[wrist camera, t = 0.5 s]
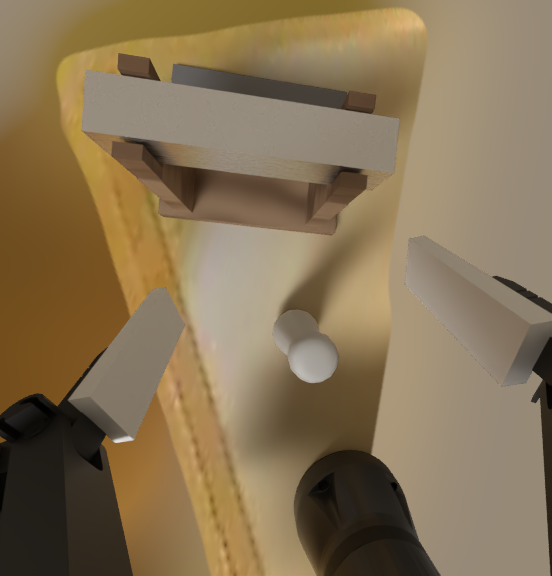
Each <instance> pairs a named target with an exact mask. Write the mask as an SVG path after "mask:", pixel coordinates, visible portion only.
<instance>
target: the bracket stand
mask: <svg viewBox="0 0 552 576" xmlns="http://www.w3.org/2000/svg"><path fill="white" fill-rule="evenodd" d="M118 70H119V71H120V73H121V75H123V76H129V77H136V78H142V79H149V80H155V81H160V79H159V77H158V75H157V73H156V71H155V69H154V66H153V64H152V62H151V60H150V58H145V57H139V56H133V55H126V54H120V53H119V55H118ZM375 100H376V95H372V94H366V93H360V92H353V91H349V93H348V95H347V97H346V99H345V101H344V103H343V105H342V107H341V110H348V111H354V112H360V113H367V114H371V113H372V112H373V111H374V109H375ZM111 156H112V157H113V158H114V159H116V160H117V161H118V162H119V163H120V164H121V165H123V166H124V167H125V168H126V169H127V170H129V171H130V172H131V173H132V174H133V175H134V176H136V177H137V179H138V180H139V181H140V182H141V183H142V184H144V185H145V186H146V187H147V188H148V189H150V190H151V191H152V192H153V193H154V194H156V195H157V196H158V197H159V198H160V199H159V211H158V214H160V215H161V216H163V217H171V218H180V219H189V220H198V221H207V222H216V223H225V224H234V225H243V226H252V227H261V228H270V229H279V230H288V231H297V232H306V233H315V234H324V235H333V234H334V233H335V227H336V217H337V213H339V212H340V211H341V210H342V209H344V208H345V207H346V206H347V205H348V203H350V202H351V201H352V200H353V199H354V198H356V197H357V196H358V195H359V194H361V193H362V192H363V191H364V190H365V189H366V187H367V177H368V175H363V174H356V173H348V172H341V173H340V174H339V175H338V177H337V178H336V179H335V180H334V182H333V183H332V184H331V185H326V184H318V183H310V182H302V181H295V180H287V179H279V178H271V177H264V176H256V175H248V174H240V173H232V172H225V171H217V170H209V169H201V168H194V167H186V166H178V165H170V164H162V163H158V162H157V161H156V160H155V159H154V157H153V156H152V155H151V154H150V153H149V152H148V150H147V149H146V148H145V147H144V146H143V145H139V144H132V143H124V142H117V141H112V153H111Z"/></svg>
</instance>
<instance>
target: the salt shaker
mask: <svg viewBox="0 0 552 576" xmlns="http://www.w3.org/2000/svg"><path fill="white" fill-rule="evenodd" d="M273 337H274V341H275V344H276V345H277V346H278V347H279V349H280V350H281V351H282V352H284V353H285V354H286V355H287V357H288V361H289V364H290V368H291V370H292V371H293V372H294V373H295V374H296V375H297V376H298V377H299V378H300V379H301V380H303V381H306V382H308V383H318V382H322V381H324V380H326V379H328V378H329V377H331V376H332V374H333V373H334V371H335V370H336V368H337V364H338V359H339V356H338V353H337V349H336V346H335V344H334V343H333V342H332V341H331V340H330V338H329V337H328V336H327V335H325V334H322V333H320V332H319V329H318V326H317V322H316V320H315V319H314V318H313V317H312V316H311V314H310V313H308V312H305V311H303V310H288V311H287V312H285V313H283V314H281V315H280V316H279V318H278V319H277V320H276V322H275V323H274V329H273Z"/></svg>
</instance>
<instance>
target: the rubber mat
mask: <svg viewBox="0 0 552 576" xmlns="http://www.w3.org/2000/svg"><path fill="white" fill-rule="evenodd" d="M172 83H174V84H181V85H187V86H194V87H200V88H206V89H213V90H219V91H226V92H232V93H239V94H245V95H251V96H258V97H264V98H271V99H277V100H283V101H290V102H296V103H303V104H309V105H316V106H322V107H328V108H335V109H341V107H342V105H343V103H344V101H345V99H346V96H347V92H343V91H337V90H331V89H325V88H319V87H313V86H306V85H300V84H294V83H288V82H282V81H276V80H269V79H263V78H257V77H251V76H245V75H239V74H233V73H226V72H220V71H214V70H208V69H202V68H196V67H189V66H183V65H177V64H173V72H172Z"/></svg>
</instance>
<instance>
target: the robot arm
mask: <svg viewBox="0 0 552 576" xmlns="http://www.w3.org/2000/svg"><path fill="white" fill-rule="evenodd" d="M405 285H406V286H407V287H408V288H409V289H410V290H411V291H412V293H413V294H414V295H415V296H416V297H417V298H418V299H419V300H420V301H421V302H422V303H423V304H424V305H425V306H426V307H427V308H428V309H429V311H430V312H431V313H432V314H433V315H434V316H435V317H436V318H437V319H438V320H439V321H440V322H441V323H442V324H443V325H444V326H445V327H446V328H447V330H448V331H449V332H450V333H451V334H452V335H453V336H454V337H455V338H456V339H457V340H458V341H459V342H460V343H461V344H462V345H463V346H464V347H465V348H466V350H467V351H468V352H469V353H470V354H471V355H472V356H473V357H474V358H475V359H476V360H477V361H478V362H479V363H480V364H481V365H482V366H483V368H484V369H485V370H486V371H487V372H488V373H489V374H490V375H491V376H492V377H493V378H494V379H495V380H496V381H497V382H498V383H499V384H500V385H501V387H502V386H509V385H516V384H523V383H526V382H527V380H528V378H529V376H530V375H531V373H532V371H534V372H535V373H536V374H537V375H539V376H540V377H541V378H542V379H543V380H542V382H541V384H540V385H539V387H538V389H537V390H536V392H535V394H534V395H533V397H532V400H531V402H534V403H536V402H537V400H538V399H539V398H540V404H541V419H542V438H543V454H544V472H545V488H546V506H547V523H548V539H549V557H550V574H551V576H552V304H551V303H550V302H548V301H546V300H545V299H543V298H541V297H539V298H538V296H537V295H536V294H534V293H532V292H530V291H527V290H526V289H525V288H524V287H522V286H520V285H518V284H517V283H515V282H513V281H510V280H507V279H504V278H501V277H498V276H493V277H491V276H489V275H488V274H486V273H484V272H483V271H481V270H479V269H478V268H476V267H475V266H473V265H471V264H470V263H468V262H466V261H465V260H463V259H462V258H460V257H458V256H457V255H455V254H453V253H452V252H450V251H448V250H447V249H445V248H444V247H442V246H440V245H439V244H437V243H435V242H434V241H432V240H431V239H429V238H427V237H426V236H420V237H415V238H410V239H409V244H408V254H407V265H406V275H405ZM184 326H185V323H184V321H183V320H182V318H181V316H180V314H179V312H178V310H177V308H176V306H175V304H174V303H173V301H172V299H171V297H170V295H169V293H168V291H167V289H166V287H163V288H158V289H153V290H152V291H151V292H150V293H149V294H148V296H147V297H146V298H145V300H144V301H143V302H142V304H141V305H140V306H139V308H138V309H137V310H136V311H135V313H134V314H133V315H132V317H131V318H130V319H129V321H128V322H127V323H126V325H125V326H124V327H123V328H122V330H121V331H120V332H119V334H118V335H117V336H116V338H115V339H114V340H113V342H112V343H111V344H110V346H109V347H107V348H106V349H105V350H104V351H102V352H101V353H100V354H99V355H98V356H97V357H96V358H95V359H94V361H93V362H92V363H91V365H90V366H89V368H87V370H86V371H85V372H84V373H83V376H82V377H80V378H79V380H78V381H77V383H76V384H75V385H74V386H73V387H72V389H71V390H70V391H69V392H68V394H67V395H66V396H65V398H64V399H63V400H62V401H61V403H60V404H59V405H58V406H56V405H54V404H53V403H52V402H51V401H50V400H49V399H47V398H46V397H45V396H44V395H43V394H33V395H29V396H28V397H25V398H23V399H21V400H19V401H18V402H16V403H15V404H13V405H12V406H10V407H9V408H8V409H7V410H6V411H4V412H3V413H2V414H1V415H0V436H1V437H2V438H4V439H5V440H7V441H5V442H2V443H0V576H133V573H132V569H131V564H130V559H129V555H128V550H127V545H126V541H125V536H124V531H123V527H122V522H121V518H120V513H119V508H118V504H117V499H116V494H115V489H114V485H113V480H112V475H111V471H110V466H109V462H108V457H107V452H106V449H105V447H104V446H103V445H102V444H101V443H102V441H103V439H104V438H105V436H106V435H107V436H108V437H109V438H110V439H111V440H113V441H114V442H115V443H118V442H124V441H131V440H134V439H135V436H136V434H137V432H138V429H139V428H140V425H141V423H142V421H143V419H144V416H145V414H146V412H147V409H148V407H149V405H150V403H151V400H152V398H153V396H154V394H155V391H156V389H157V387H158V385H159V382H160V380H161V378H162V376H163V373H164V371H165V369H166V367H167V364H168V362H169V360H170V358H171V355H172V353H173V351H174V349H175V346H176V344H177V342H178V340H179V337H180V335H181V333H182V330H183V328H184ZM294 515H295V521H296V527H297V532H298V536H299V539H300V542H301V544H302V546H303V548H304V550H305V552H306V555H307V557H308V559H309V561H310V563H311V565H312V567H313V569H314V571H315V573H316V575H317V576H441V575H440V574H439V572H438V571H437V569H436V567H435V566H434V564H433V563H432V561H431V560H430V558H429V556H428V555H427V553H426V551H425V550H424V548H423V547H422V545H421V543H420V542H419V539H418V536H417V533H416V530H415V527H414V524H413V520H412V517H411V514H410V511H409V508H408V505H407V502H406V498H405V495H404V493H403V491H402V489H401V487H400V485H399V483H398V482H397V480H396V479H395V477H394V476H393V474H392V473H391V472H390V470H389V469H388V467H387V466H386V465H385V464H384V463H383V462H381V461H380V460H379V459H377V458H376V457H374V456H372V455H370V454H367V453H364V452H360V451H342V452H337V453H334V454H331V455H329V456H326V457H325V458H323V459H321V460H320V461H318V462H317V463H315V464H314V465H313V466H312V467H311V468H310V469H309V470H308V471H307V473H306V474H305V475H304V477H303V478H302V480H301V482H300V484H299V486H298V488H297V491H296V495H295V500H294Z"/></svg>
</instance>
